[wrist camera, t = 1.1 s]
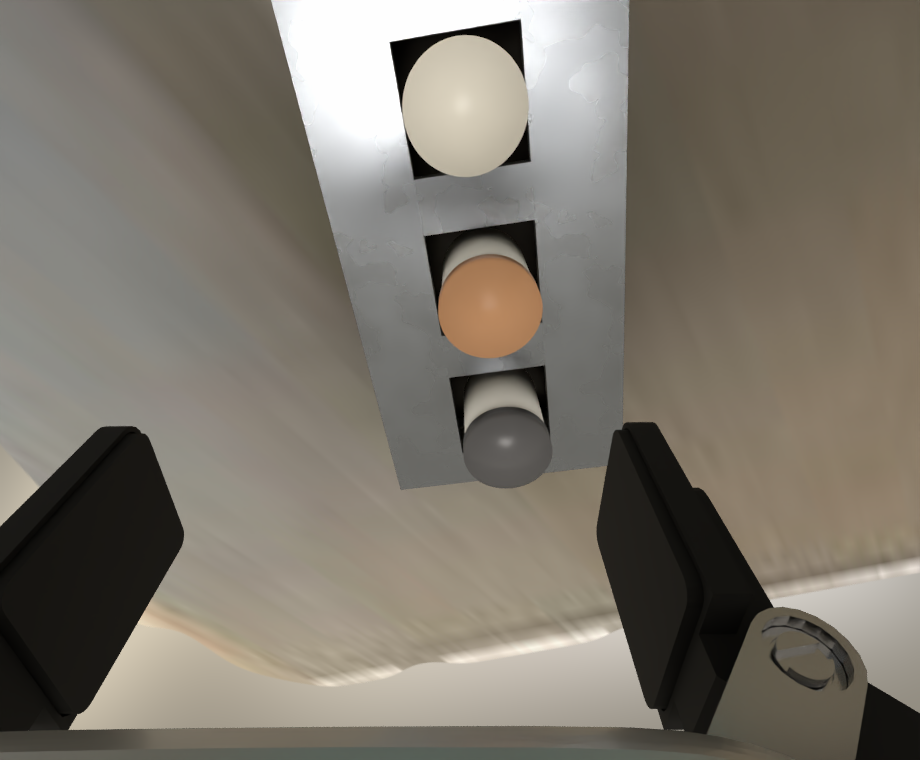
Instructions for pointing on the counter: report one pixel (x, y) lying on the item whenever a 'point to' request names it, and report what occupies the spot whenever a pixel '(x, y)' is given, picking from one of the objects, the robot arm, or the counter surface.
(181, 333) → the counter surface
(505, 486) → the plug
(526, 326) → the plug mid
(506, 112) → the plug
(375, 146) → the housing
